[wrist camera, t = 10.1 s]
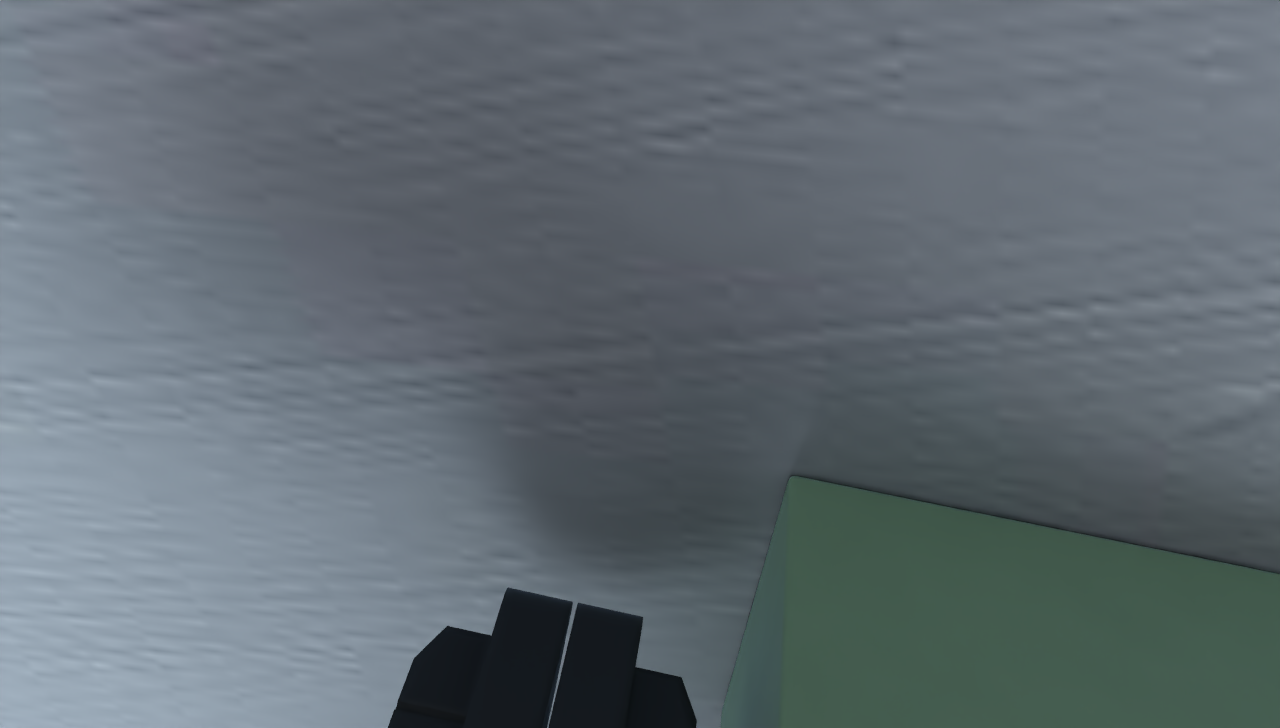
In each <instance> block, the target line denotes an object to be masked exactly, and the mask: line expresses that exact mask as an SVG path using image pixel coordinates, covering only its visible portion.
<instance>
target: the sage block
mask: <svg viewBox="0 0 1280 728" xmlns="http://www.w3.org/2000/svg"><path fill="white" fill-rule="evenodd" d="M720 728H1280V574H1277V573H1272V572H1267V571H1262V570H1257V569H1252V568H1247V567H1242V566H1237V565H1232V564H1228V563H1223V562H1218V561H1213V560H1208V559H1203V558H1198V557H1193V556H1188V555H1183V554H1178V553H1173V552H1168V551H1163V550H1158V549H1154V548H1149V547H1144V546H1139V545H1134V544H1129V543H1124V542H1119V541H1114V540H1109V539H1104V538H1099V537H1094V536H1089V535H1085V534H1080V533H1075V532H1070V531H1065V530H1060V529H1055V528H1050V527H1045V526H1040V525H1035V524H1030V523H1025V522H1020V521H1015V520H1011V519H1006V518H1001V517H996V516H991V515H986V514H981V513H976V512H971V511H966V510H961V509H956V508H951V507H946V506H941V505H937V504H932V503H927V502H922V501H917V500H912V499H907V498H902V497H897V496H892V495H887V494H882V493H877V492H872V491H868V490H863V489H858V488H853V487H848V486H843V485H838V484H833V483H828V482H823V481H818V480H813V479H808V478H803V477H798V476H792V477H791V478H790V479H789V481H788V483H787V487H786V490H785V493H784V497H783V500H782V504H781V507H780V511H779V514H778V518H777V521H776V525H775V528H774V532H773V535H772V539H771V542H770V546H769V549H768V553H767V556H766V559H765V563H764V566H763V570H762V573H761V577H760V580H759V584H758V587H757V591H756V594H755V598H754V601H753V605H752V608H751V612H750V615H749V619H748V622H747V625H746V629H745V632H744V636H743V639H742V643H741V646H740V650H739V653H738V657H737V660H736V664H735V667H734V671H733V674H732V678H731V681H730V685H729V688H728V691H727V695H726V698H725V702H724V705H723V709H722V716H721V727H720Z"/></svg>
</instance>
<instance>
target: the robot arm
mask: <svg viewBox="0 0 1280 728" xmlns="http://www.w3.org/2000/svg"><path fill="white" fill-rule="evenodd" d="M572 605H573V602H571V601H567V600H562V599H557V598H553V597H548V596H544V595H539V594H535V593H530V592H526V591H521V590H517V589H512V588H507V590H506V592H505V595H504V598H503V601H502V604H501V607H500V610H499V614H498V617H497V620H496V623H495V627H494V630H493V633H492V636H490V635H486V634H481V633H477V632H472V631H468V630H463V629H459V628H454V627H450V626H447V627H446V628H445V629H444V630H443V631H442V632H441V633H440V634H438V635H437V636H436V637H435V638H434V639H433V640H432V641H431V642H430V643H429V644H428V645H427V646H426V647H425V648H424V649H423V650H422V651H421V652H420V653H419V654H418V655H417V656H416V657H415V658H414V660H413V662H412V665H411V667H410V670H409V673H408V675H407V678H406V681H405V683H404V686H403V689H402V691H401V694H400V697H399V699H398V703H397V707H396V710H394V712H393V715H392V718H391V720H390V723H389V726H388V728H547V725H548V721H549V716H550V712H551V707H552V702H553V698H554V693H555V688H556V683H557V678H558V673H559V668H560V664H561V659H562V654H563V649H564V644H565V639H566V634H567V629H568V625H569V620H570V615H571V610H572ZM642 623H643V617H641V616H636V615H631V614H627V613H622V612H618V611H613V610H609V609H604V608H600V607H595V606H591V605H586V604H582V603H578V605H577V609H576V613H575V617H574V621H573V625H572V630H571V634H570V638H569V642H568V647H567V651H566V655H565V659H564V664H563V668H562V672H561V676H560V681H559V685H558V689H557V693H556V698H555V702H554V706H553V710H552V715H551V719H550V723H549V727H548V728H696V723H697V720H696V717H695V714H694V712H693V709H692V706H691V703H690V700H689V697H688V695H687V692H686V689H685V686H684V683H683V680H682V677H678V676H673V675H669V674H664V673H660V672H655V671H650V670H646V669H641V668H637V667H635V666H636V660H637V654H638V648H639V642H640V636H641V630H642Z"/></svg>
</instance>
